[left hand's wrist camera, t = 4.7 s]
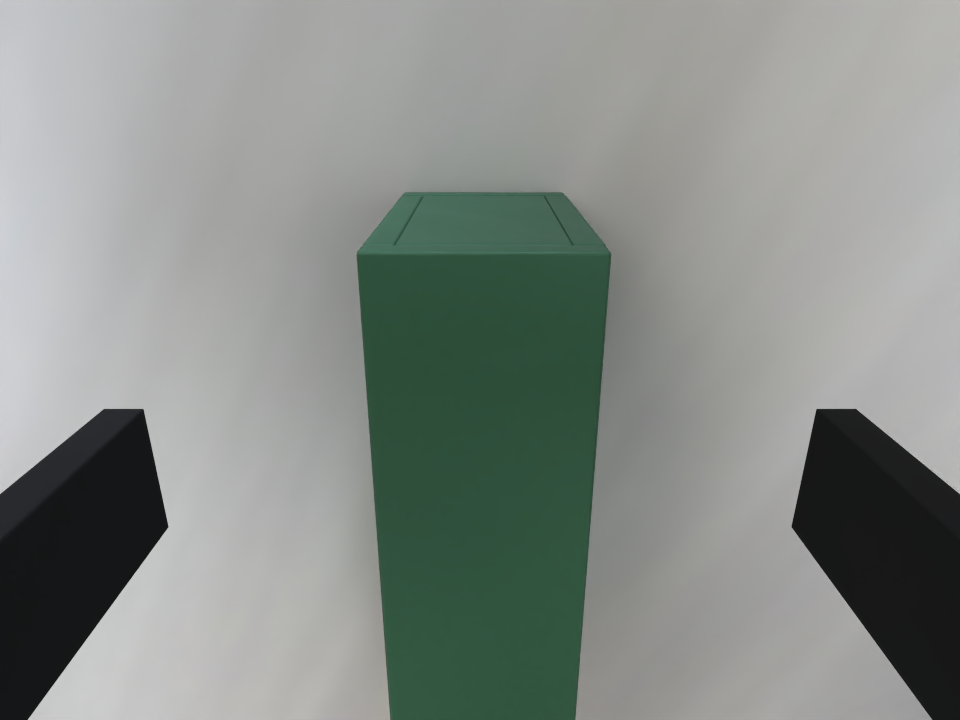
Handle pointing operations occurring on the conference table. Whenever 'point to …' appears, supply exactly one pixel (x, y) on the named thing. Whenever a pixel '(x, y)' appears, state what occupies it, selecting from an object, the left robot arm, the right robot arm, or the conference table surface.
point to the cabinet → (483, 447)
